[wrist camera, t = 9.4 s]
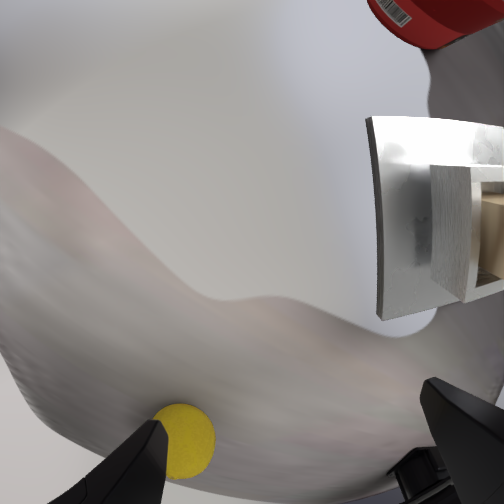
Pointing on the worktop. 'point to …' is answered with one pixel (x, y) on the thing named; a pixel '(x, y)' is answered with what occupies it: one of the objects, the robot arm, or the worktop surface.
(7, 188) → the worktop surface
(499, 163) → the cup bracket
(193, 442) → the lemon
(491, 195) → the rail end
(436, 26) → the canned food
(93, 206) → the worktop surface
